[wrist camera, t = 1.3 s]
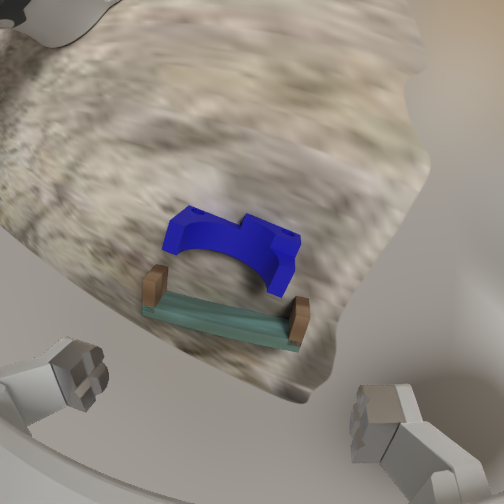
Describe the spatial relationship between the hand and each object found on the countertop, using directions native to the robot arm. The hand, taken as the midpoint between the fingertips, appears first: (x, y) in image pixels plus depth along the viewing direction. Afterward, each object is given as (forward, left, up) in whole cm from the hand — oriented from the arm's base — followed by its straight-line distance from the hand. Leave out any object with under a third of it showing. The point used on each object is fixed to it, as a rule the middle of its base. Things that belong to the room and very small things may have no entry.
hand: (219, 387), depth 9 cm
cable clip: (+4, -3, -25) cm, 26 cm away
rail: (+12, -2, -25) cm, 28 cm away
